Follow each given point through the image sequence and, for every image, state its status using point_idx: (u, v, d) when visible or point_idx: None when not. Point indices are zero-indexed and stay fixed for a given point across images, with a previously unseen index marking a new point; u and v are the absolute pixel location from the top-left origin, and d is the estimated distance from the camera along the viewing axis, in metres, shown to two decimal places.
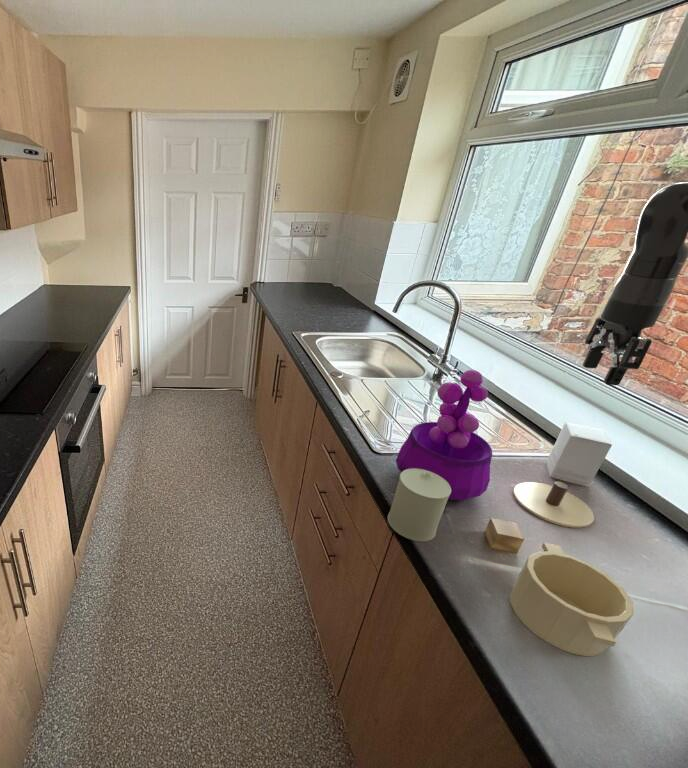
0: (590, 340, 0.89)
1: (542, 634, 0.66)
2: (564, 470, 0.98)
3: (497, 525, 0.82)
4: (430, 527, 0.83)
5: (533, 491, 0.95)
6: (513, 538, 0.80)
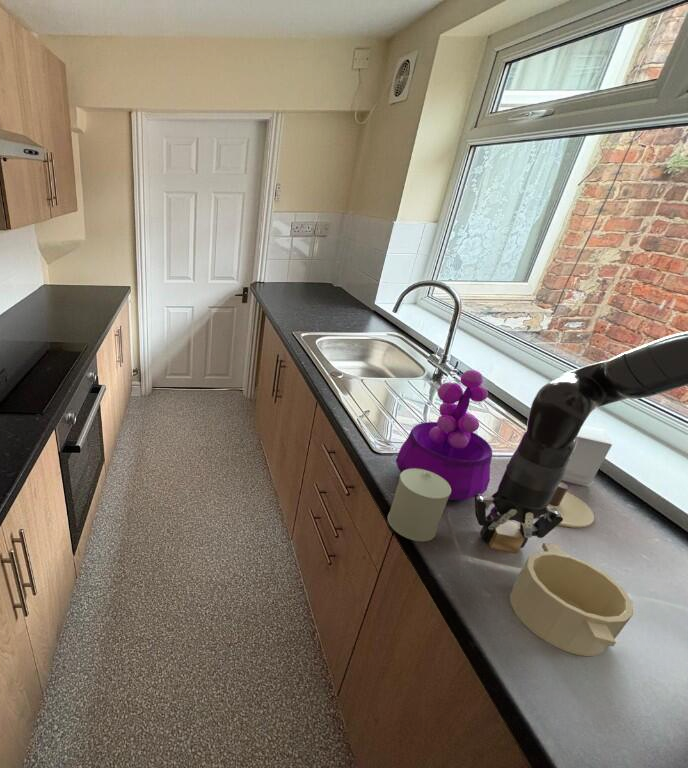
0: (534, 524, 0.80)
1: (542, 634, 0.66)
2: None
3: None
4: (430, 527, 0.83)
5: None
6: (513, 538, 0.80)
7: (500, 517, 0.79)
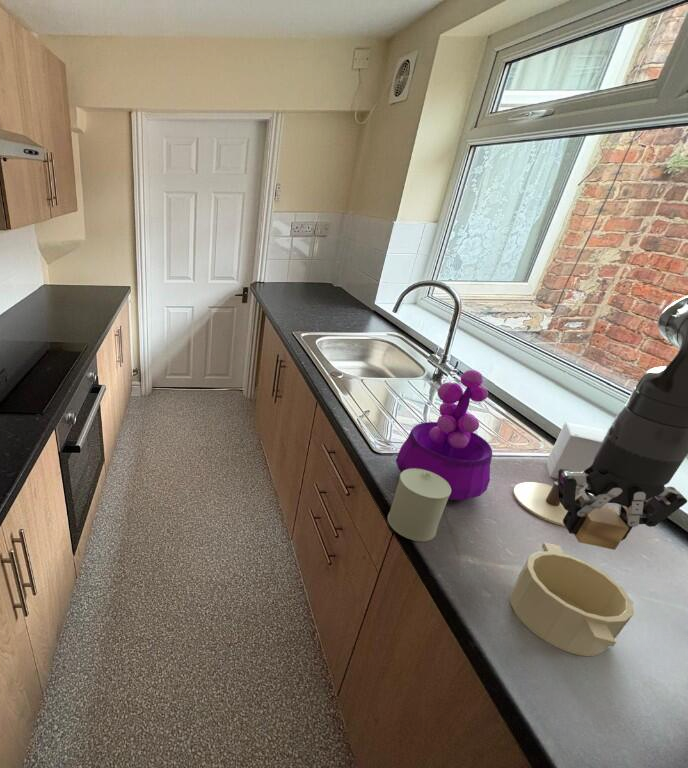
0: None
1: (542, 634, 0.66)
2: None
3: None
4: (430, 527, 0.83)
5: (533, 491, 0.95)
6: (613, 526, 0.60)
7: (596, 499, 0.60)
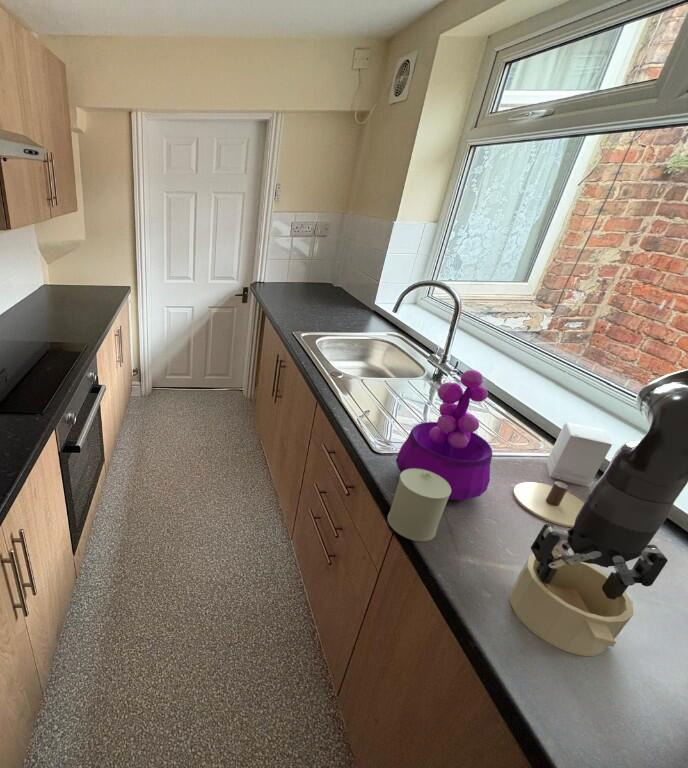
0: (634, 568, 0.63)
1: (542, 634, 0.66)
2: (564, 470, 0.98)
3: (555, 594, 0.68)
4: (430, 527, 0.83)
5: (533, 491, 0.95)
6: None
7: (573, 556, 0.63)
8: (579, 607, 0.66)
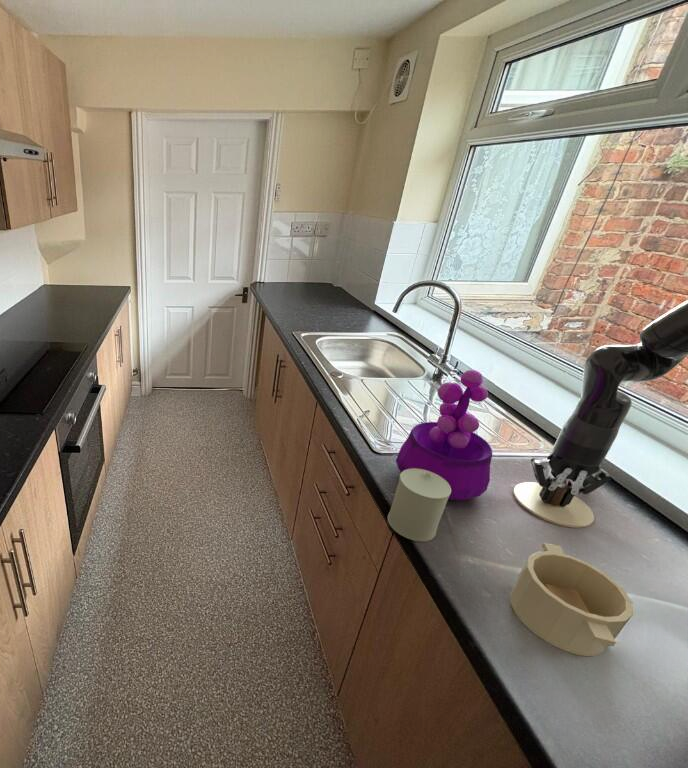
0: None
1: (542, 634, 0.66)
2: None
3: (555, 594, 0.68)
4: (430, 527, 0.83)
5: (533, 491, 0.95)
6: None
7: (557, 477, 0.88)
8: (579, 607, 0.66)
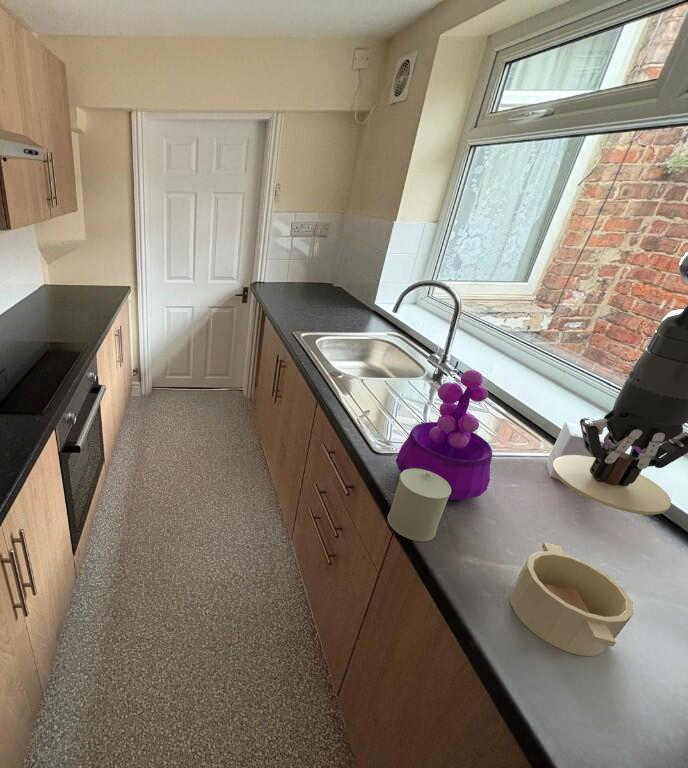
0: None
1: (542, 634, 0.66)
2: None
3: (555, 594, 0.68)
4: (430, 527, 0.83)
5: (580, 466, 0.70)
6: None
7: (619, 444, 0.62)
8: (579, 607, 0.66)
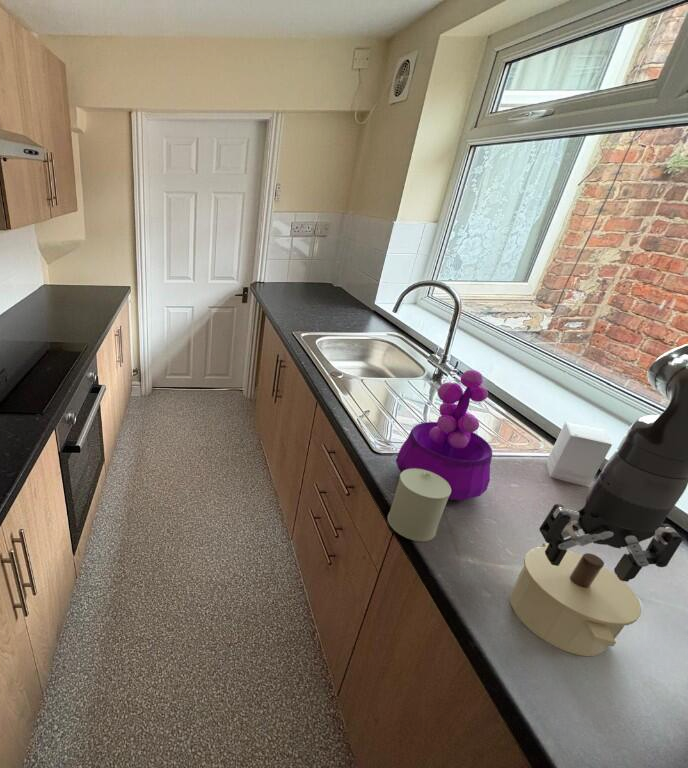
0: (648, 549, 0.61)
1: (542, 634, 0.66)
2: (564, 470, 0.98)
3: None
4: (430, 527, 0.83)
5: None
6: None
7: (584, 537, 0.61)
8: None
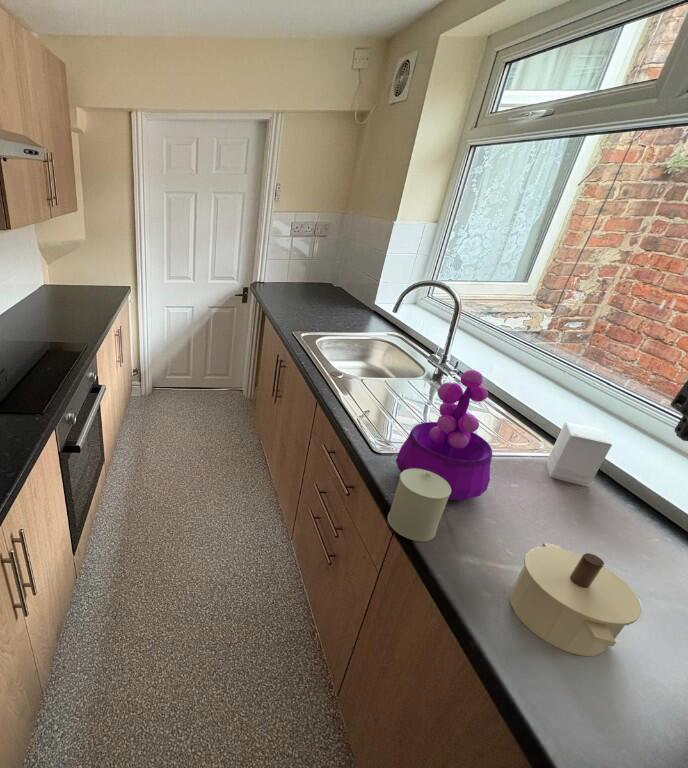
0: None
1: (542, 634, 0.66)
2: (564, 470, 0.98)
3: None
4: (430, 527, 0.83)
5: (552, 562, 0.69)
6: None
7: None
8: None
